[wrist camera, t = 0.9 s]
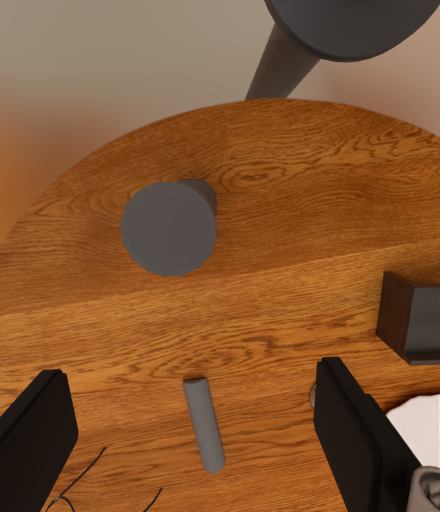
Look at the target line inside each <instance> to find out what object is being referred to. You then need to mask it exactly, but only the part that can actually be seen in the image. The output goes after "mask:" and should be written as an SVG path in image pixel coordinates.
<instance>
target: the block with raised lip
mask: <svg viewBox="0 0 440 512" xmlns="http://www.w3.org/2000/svg"><path fill="white" fill-rule="evenodd" d="M376 335H377V336H378V337H379V338H381V339H382V340H383V341H384V342H385V343H386V344H387V345H388V346H389V347H390V348H391V349H392V350H393V351H394V352H395V353H396V354H398V355H399V356H400V357H401V358H402V359H403V360H405V361H406V362H407V363H408V364H409V365H410V366H419V365H440V284H416V283H414V282H412V281H410V280H408V279H406V278H404V277H402V276H400V275H398V274H396V273H394V272H392V271H385V272H384V278H383V285H382V293H381V301H380V308H379V316H378V323H377V331H376Z"/></svg>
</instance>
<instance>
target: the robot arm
mask: <svg viewBox="0 0 440 512" xmlns="http://www.w3.org/2000/svg"><path fill="white" fill-rule="evenodd" d="M314 427H315V431H316V433H317V436H318V438H319V441H320V443H321V446H322V448H323V451H324V453H325V456H326V458H327V461H328V463H329V466H330V468H331V471H332V473H333V476H334V478H335V480H336V483H337V485H338V488H339V490H340V493H341V495H342V498H343V500H344V503H345V505H346V508H347V510H348V512H440V468H439V467H435V466H422V464H421V463H420V461H419V460H418V459H417V457H416V456H415V455H414V453H413V452H412V450H411V449H410V448H409V446H408V445H407V444H406V442H405V441H404V439H403V438H402V437H401V435H400V434H399V433H398V431H397V430H396V428H395V427H394V426H393V424H392V423H391V422H390V420H389V419H388V417H387V416H386V415H385V413H384V412H383V411H382V409H381V408H380V406H379V405H378V404H377V402H376V401H375V400H374V398H373V397H372V396H371V395H369V394H365V393H364V392H363V390H362V389H361V387H360V386H359V384H358V383H357V382H356V380H355V379H354V377H353V376H352V374H351V373H350V372H349V370H348V369H347V367H346V366H345V364H344V363H343V362H342V360H341V359H340V358H339V357H323V358H322V360H321V361H320V362H317V371H316V387H315V403H314ZM77 439H78V427H77V422H76V417H75V412H74V407H73V403H72V398H71V393H70V388H69V384H68V379H67V375H66V374H65V373H63V372H62V371H61V370H60V369H52V370H42V371H41V372H40V373H39V374H38V375H37V376H36V378H35V379H34V380H33V381H32V382H31V383H30V384H29V385H28V387H27V388H26V389H25V390H24V391H23V392H22V393H21V394H20V395H19V397H18V398H17V399H16V400H15V401H14V402H13V403H12V404H11V405H10V407H9V408H8V409H7V410H6V411H5V412H4V413H3V414H2V416H1V417H0V512H40V511H41V509H42V507H43V505H44V504H45V502H46V500H47V498H48V496H49V494H50V492H51V490H52V488H53V486H54V484H55V482H56V480H57V479H58V477H59V475H60V473H61V471H62V469H63V467H64V465H65V463H66V461H67V459H68V457H69V456H70V454H71V452H72V450H73V448H74V446H75V444H76V442H77Z"/></svg>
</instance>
